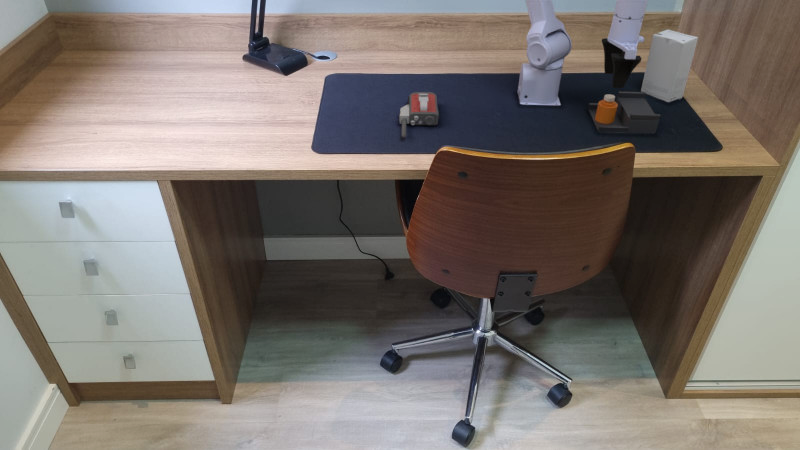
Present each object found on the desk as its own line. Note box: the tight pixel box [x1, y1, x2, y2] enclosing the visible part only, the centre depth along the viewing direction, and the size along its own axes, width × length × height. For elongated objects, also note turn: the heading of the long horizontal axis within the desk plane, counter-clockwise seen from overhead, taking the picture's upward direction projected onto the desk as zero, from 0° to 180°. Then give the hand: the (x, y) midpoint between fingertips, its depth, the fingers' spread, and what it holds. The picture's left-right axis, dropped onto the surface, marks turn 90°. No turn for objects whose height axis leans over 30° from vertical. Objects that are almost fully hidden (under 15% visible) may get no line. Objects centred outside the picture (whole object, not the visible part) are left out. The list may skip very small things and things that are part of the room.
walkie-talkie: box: [398, 91, 440, 139], centre depth 126 cm, size 9×4×20 cm
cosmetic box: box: [640, 29, 699, 103], centre depth 133 cm, size 8×6×15 cm
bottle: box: [595, 93, 618, 124], centre depth 124 cm, size 4×4×6 cm
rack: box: [587, 91, 661, 135], centre depth 125 cm, size 12×12×5 cm
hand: (613, 80), depth 120 cm, fingers open, 7 cm apart
